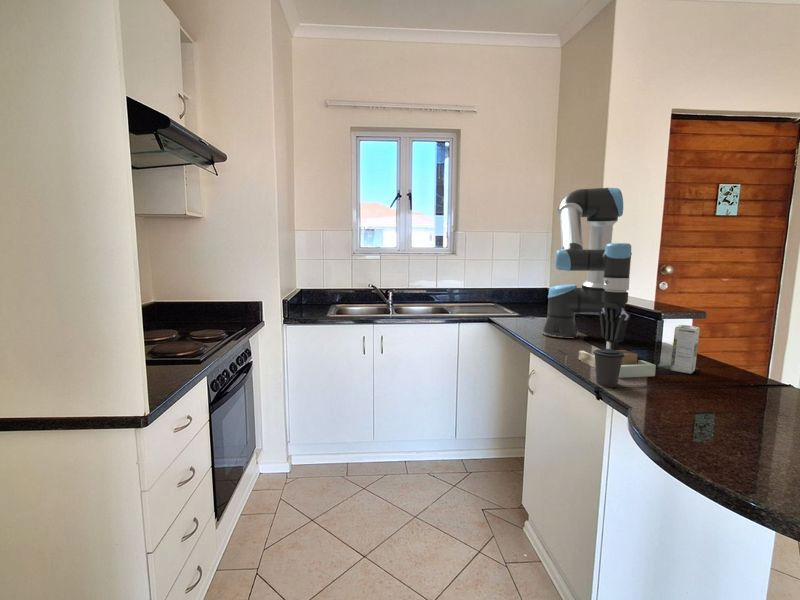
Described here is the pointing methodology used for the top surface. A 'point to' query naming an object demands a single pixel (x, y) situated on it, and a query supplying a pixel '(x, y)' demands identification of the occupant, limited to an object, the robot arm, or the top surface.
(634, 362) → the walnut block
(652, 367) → the backstop bay
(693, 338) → the syrup box
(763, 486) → the top surface
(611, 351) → the coffee cup
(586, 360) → the tunnel
